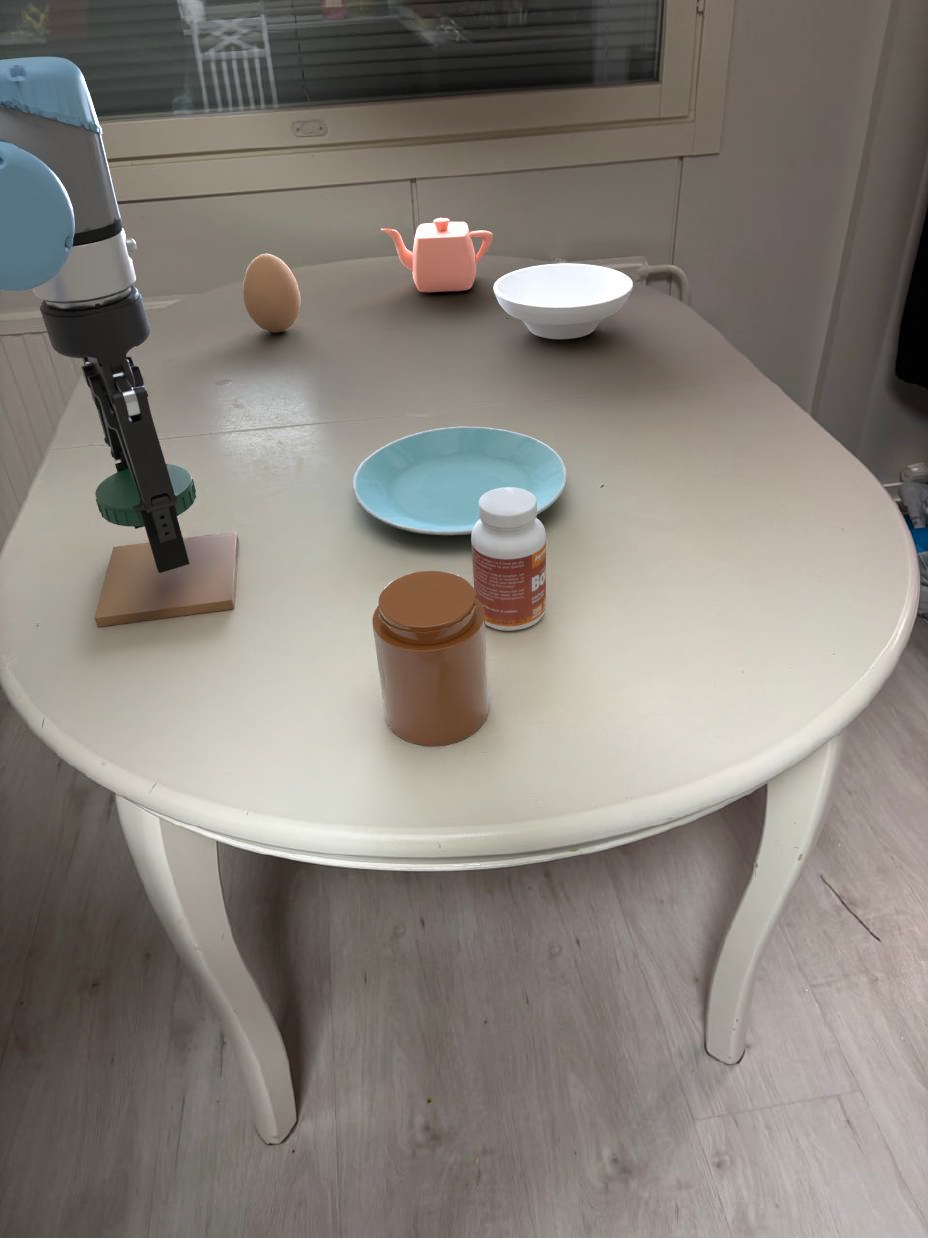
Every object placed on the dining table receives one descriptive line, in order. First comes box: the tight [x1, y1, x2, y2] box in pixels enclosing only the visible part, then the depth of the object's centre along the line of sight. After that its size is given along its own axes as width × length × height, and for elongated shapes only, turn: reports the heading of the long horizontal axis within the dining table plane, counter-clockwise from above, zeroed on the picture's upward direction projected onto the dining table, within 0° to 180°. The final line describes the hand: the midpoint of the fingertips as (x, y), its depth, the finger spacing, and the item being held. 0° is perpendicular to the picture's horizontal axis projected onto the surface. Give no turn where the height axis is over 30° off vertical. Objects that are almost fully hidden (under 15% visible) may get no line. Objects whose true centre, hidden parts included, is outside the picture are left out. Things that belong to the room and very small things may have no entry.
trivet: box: [94, 531, 239, 628], centre depth 87 cm, size 12×12×1 cm
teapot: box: [380, 217, 494, 294], centre depth 151 cm, size 12×18×10 cm, turn 90°
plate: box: [352, 426, 568, 536], centre depth 96 cm, size 22×22×3 cm
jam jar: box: [371, 570, 490, 747], centre depth 68 cm, size 8×8×11 cm
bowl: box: [493, 263, 634, 340], centre depth 132 cm, size 20×20×7 cm
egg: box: [242, 253, 301, 333], centre depth 137 cm, size 8×8×11 cm
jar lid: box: [94, 463, 197, 528], centre depth 81 cm, size 8×8×2 cm
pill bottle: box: [470, 487, 547, 632], centre depth 77 cm, size 6×6×11 cm
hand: (160, 543), depth 85 cm, fingers closed on jar lid, 8 cm apart
